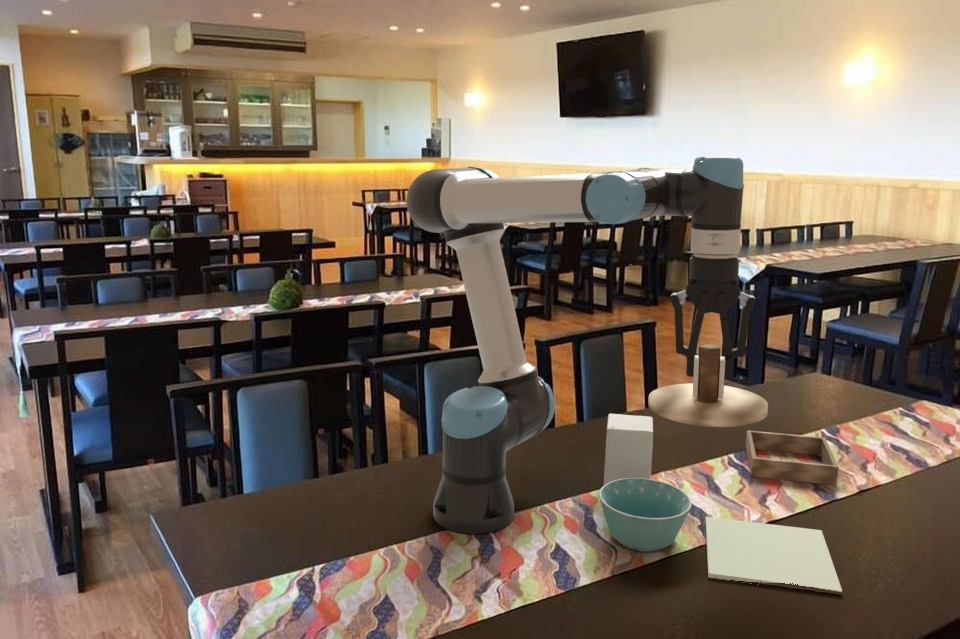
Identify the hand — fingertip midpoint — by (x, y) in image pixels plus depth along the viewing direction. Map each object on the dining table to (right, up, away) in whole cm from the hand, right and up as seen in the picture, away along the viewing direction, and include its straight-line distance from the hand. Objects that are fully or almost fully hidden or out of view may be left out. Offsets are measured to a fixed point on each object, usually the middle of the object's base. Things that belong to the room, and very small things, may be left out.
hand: (707, 395), depth 132 cm
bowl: (-9, -26, +9) cm, 29 cm away
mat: (+11, -28, +4) cm, 30 cm away
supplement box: (-8, -22, +27) cm, 36 cm away
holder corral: (+29, -19, +41) cm, 54 cm away
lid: (0, -2, 0) cm, 2 cm away
